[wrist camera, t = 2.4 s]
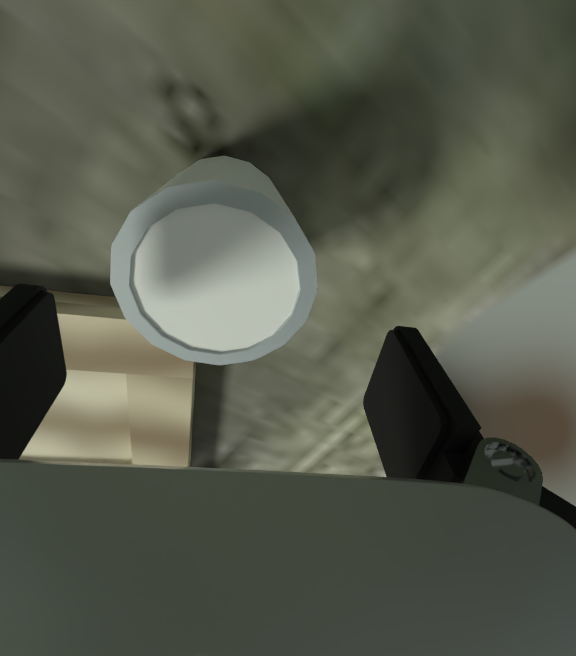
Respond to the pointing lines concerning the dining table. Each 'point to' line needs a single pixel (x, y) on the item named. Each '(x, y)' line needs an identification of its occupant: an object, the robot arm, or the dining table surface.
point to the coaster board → (114, 392)
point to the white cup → (214, 265)
